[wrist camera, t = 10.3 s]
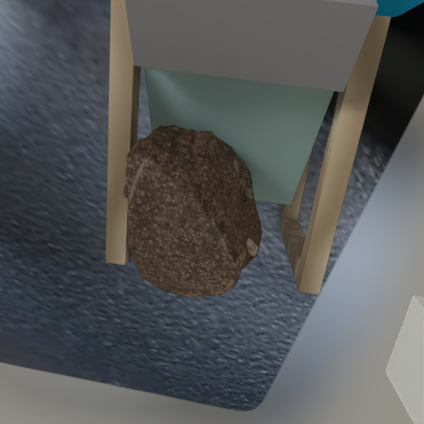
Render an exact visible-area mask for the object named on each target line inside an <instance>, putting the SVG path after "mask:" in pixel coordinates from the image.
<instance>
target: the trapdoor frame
mask: <svg viewBox="0 0 424 424" xmlns="http://www.w3.org/2000/svg"><path fill="white" fill-rule="evenodd" d="M390 19H391V17H387V16H378V15H375V16H374V19H373V21H372V24H371V26H370V28H369V31H368V33H367V36H366V38H365V41H364V43H363V45H362V48H361V50H360V53H359V55H358V58H357V60H356V63H355V65H354V67H353V70H352V72H351V75H350V77H349V80H348V82H347V84H346V87H345V89H344V92H339V93H338V98H337V102H336V107H335V111H334V115H333V120H332V124H331V128H330V133H329V137H328V141H327V146H326V150H325V154H324V159H323V163H322V168H321V172H320V176H319V181H318V185H317V189H316V194H315V198H314V202H313V207H312V211H311V215H310V220H309V224H308V229H307V233H306V237H305V235H304V233H303V231H302V229H301V227H300V224H299V222H298V220H297V219H298V214H299V209H300V205H301V200H302V196H303V191H304V186H305V182H306V177H307V172H308V168H309V163H310V159H311V154H312V150H311V152H310V155H309V158H308V160H307V163H306V165H305V168H304V171H303V173H302V176H301V178H300V181H299V184H298V186H297V189H296V191H295V194H294V197H293V199H292V202H291V204H290V205H285V204H284V208H283V213H282V218H281V223H280V230H281V234H282V237H283V240H284V244H285V247H286V251H287V254H288V257H289V261H290V264H291V268H292V271H293V274H294V278H295V281H296V285H297V288H298V291H299V292H306V293H312V294H319V293H320V289H321V285H322V281H323V277H324V274H325V270H326V266H327V262H328V258H329V254H330V250H331V247H332V243H333V239H334V235H335V231H336V227H337V223H338V220H339V216H340V212H341V208H342V204H343V200H344V196H345V193H346V189H347V185H348V181H349V177H350V173H351V169H352V166H353V162H354V158H355V154H356V150H357V146H358V142H359V139H360V135H361V131H362V127H363V123H364V119H365V115H366V112H367V108H368V104H369V100H370V96H371V92H372V88H373V85H374V81H375V77H376V73H377V69H378V65H379V61H380V58H381V54H382V50H383V46H384V42H385V38H386V34H387V31H388V27H389V23H390ZM139 88H140V67H139V66H134V61H133V54H132V47H131V40H130V33H129V26H128V19H127V12H126V5H125V0H111V23H110V72H109V121H108V170H107V219H106V262H109V263H115V264H122V265H125V264H126V263H127V262H128V260H129V259H130V258H131V256H132V255H131V251H130V248H129V243H128V240H129V237H128V234H127V228H128V215H127V212H128V201H127V198H126V197H124V196H123V190H124V187H125V185H126V182H127V181H126V166H127V159H126V157H127V154H128V153H129V152H130V150H131V149H132V148H133V147H134V146H135V145H136V143H137V129H138V109H139ZM312 149H313V147H312Z"/></svg>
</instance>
